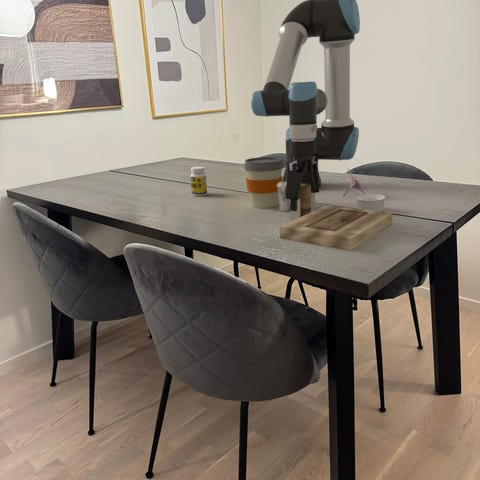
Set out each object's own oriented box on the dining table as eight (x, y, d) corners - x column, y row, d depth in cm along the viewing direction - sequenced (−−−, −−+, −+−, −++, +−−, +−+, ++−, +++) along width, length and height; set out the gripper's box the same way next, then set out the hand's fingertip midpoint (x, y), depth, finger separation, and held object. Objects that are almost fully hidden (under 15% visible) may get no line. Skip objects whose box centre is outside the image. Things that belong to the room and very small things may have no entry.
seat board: (279, 237, 125) (279, 225, 124) (326, 214, 144) (326, 204, 143) (351, 250, 113) (351, 237, 112) (391, 223, 132) (392, 212, 131)
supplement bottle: (189, 196, 178) (186, 168, 175) (196, 192, 183) (194, 166, 180) (203, 196, 176) (201, 169, 173) (209, 193, 181) (208, 166, 178)
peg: (292, 219, 141) (292, 186, 138) (300, 215, 144) (300, 183, 141) (306, 221, 138) (306, 187, 135) (313, 217, 142) (313, 184, 139)
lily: (359, 205, 158) (373, 179, 156) (328, 189, 162) (342, 163, 160) (364, 207, 169) (378, 183, 167) (335, 192, 173) (349, 168, 172)
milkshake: (289, 212, 148) (289, 180, 145) (274, 211, 151) (273, 179, 148) (296, 209, 152) (295, 178, 149) (281, 207, 155) (280, 177, 152)
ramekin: (370, 215, 141) (371, 201, 140) (348, 210, 149) (349, 196, 147) (391, 210, 146) (391, 196, 144) (369, 205, 153) (369, 192, 152)
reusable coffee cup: (255, 199, 168) (253, 156, 163) (289, 201, 162) (288, 157, 158) (239, 208, 157) (237, 162, 153) (275, 210, 152) (274, 163, 147)
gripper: (295, 144, 124) (295, 228, 131) (332, 135, 140) (331, 211, 147) (271, 143, 129) (272, 224, 135) (309, 135, 144) (309, 208, 151)
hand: (303, 217), depth 141 cm, fingers open, 8 cm apart
